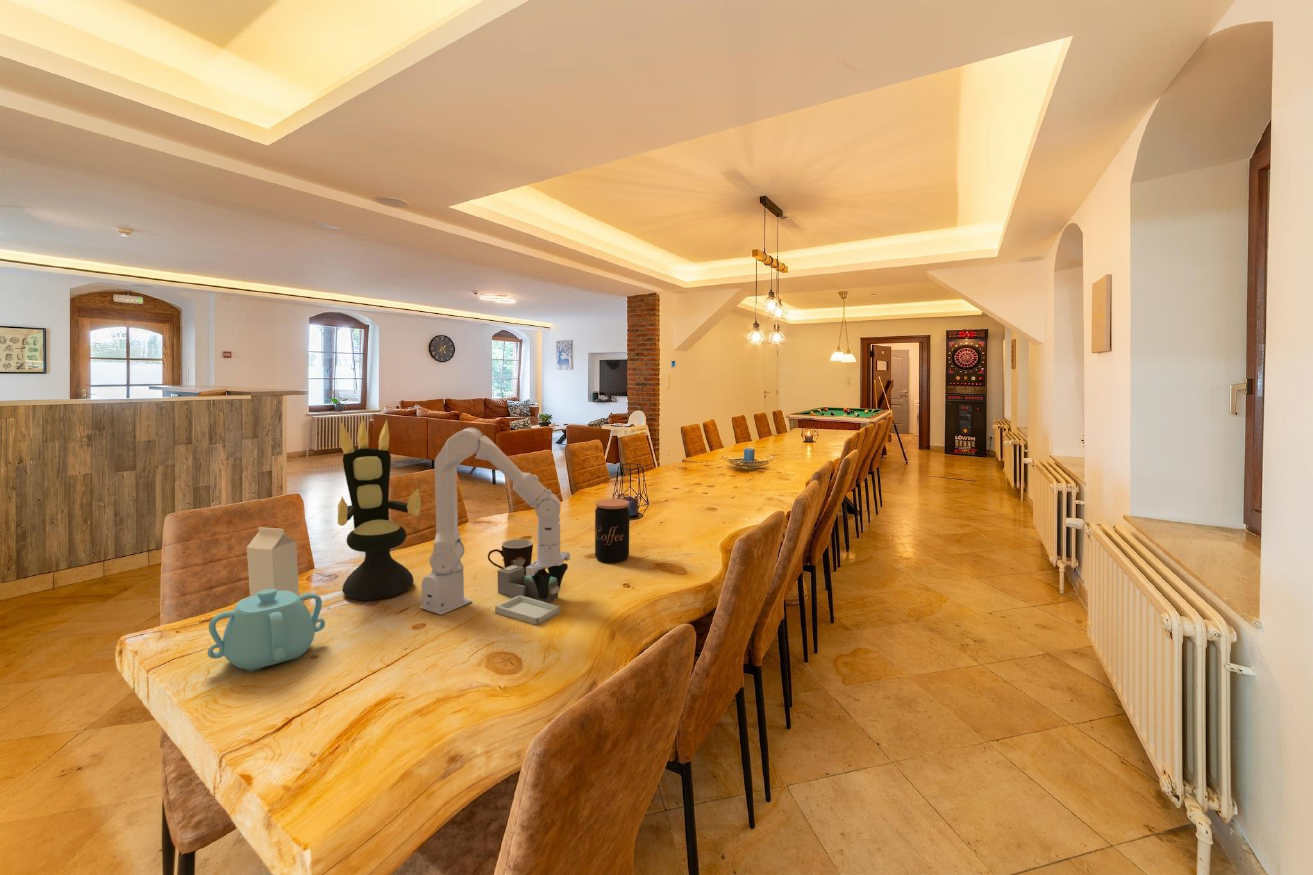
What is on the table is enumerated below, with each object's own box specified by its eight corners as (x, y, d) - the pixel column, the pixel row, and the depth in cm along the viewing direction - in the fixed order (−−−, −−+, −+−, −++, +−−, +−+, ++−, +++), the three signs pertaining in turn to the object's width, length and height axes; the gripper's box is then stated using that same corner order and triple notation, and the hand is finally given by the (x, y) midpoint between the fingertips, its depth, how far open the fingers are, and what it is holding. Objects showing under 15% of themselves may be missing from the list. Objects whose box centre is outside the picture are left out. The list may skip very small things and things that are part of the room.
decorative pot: (196, 674, 105) (191, 604, 104) (266, 635, 121) (262, 574, 119) (274, 681, 103) (270, 610, 101) (335, 640, 119) (332, 579, 117)
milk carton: (275, 610, 133) (270, 533, 131) (250, 608, 135) (245, 531, 133) (299, 599, 140) (295, 525, 138) (275, 596, 142) (271, 523, 140)
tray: (537, 625, 128) (537, 618, 127) (495, 612, 134) (495, 606, 134) (560, 612, 135) (560, 606, 134) (519, 601, 141) (519, 595, 141)
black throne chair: (343, 610, 134) (335, 423, 129) (326, 583, 151) (318, 417, 146) (425, 592, 146) (420, 420, 141) (400, 569, 163) (395, 415, 158)
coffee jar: (589, 561, 172) (589, 504, 170) (602, 551, 182) (603, 497, 180) (621, 565, 169) (622, 507, 167) (633, 555, 179) (634, 500, 177)
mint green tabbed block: (550, 604, 139) (550, 583, 139) (523, 597, 144) (523, 576, 143) (561, 599, 143) (561, 578, 142) (534, 592, 147) (534, 572, 147)
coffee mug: (537, 573, 161) (537, 539, 160) (527, 584, 153) (527, 548, 152) (498, 571, 162) (498, 537, 161) (486, 582, 154) (486, 546, 153)
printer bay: (523, 600, 142) (523, 576, 141) (497, 593, 146) (496, 569, 145) (542, 591, 148) (542, 568, 147) (516, 584, 152) (516, 562, 152)
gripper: (541, 552, 132) (542, 607, 134) (579, 538, 145) (579, 588, 146) (519, 547, 136) (519, 601, 137) (557, 533, 148) (558, 583, 150)
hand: (549, 594), depth 142 cm, fingers closed on mint green tabbed block, 4 cm apart
